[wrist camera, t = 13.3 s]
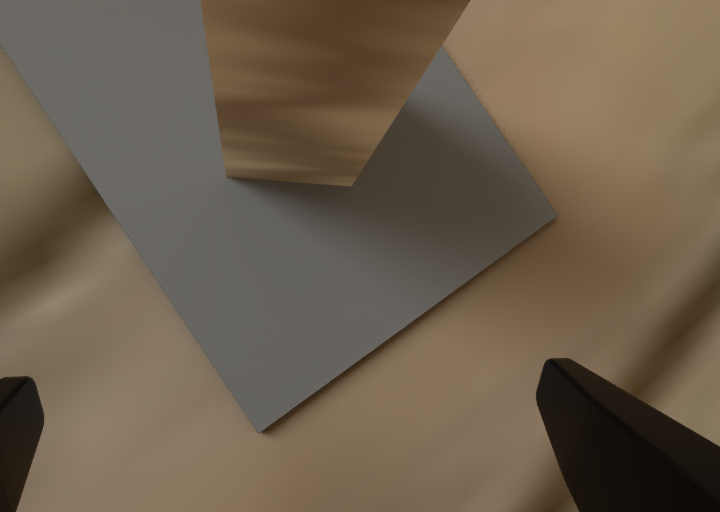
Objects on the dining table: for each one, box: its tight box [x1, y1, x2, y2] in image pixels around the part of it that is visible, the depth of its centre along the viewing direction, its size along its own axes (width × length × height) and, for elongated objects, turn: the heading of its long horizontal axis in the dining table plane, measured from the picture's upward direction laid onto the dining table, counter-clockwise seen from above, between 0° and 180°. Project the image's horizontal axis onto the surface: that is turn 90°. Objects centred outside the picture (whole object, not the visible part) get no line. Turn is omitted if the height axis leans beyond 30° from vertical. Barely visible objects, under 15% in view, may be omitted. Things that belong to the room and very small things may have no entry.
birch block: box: [200, 0, 470, 186], centre depth 13 cm, size 4×4×12 cm
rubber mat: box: [0, 0, 558, 433], centre depth 19 cm, size 14×18×1 cm
